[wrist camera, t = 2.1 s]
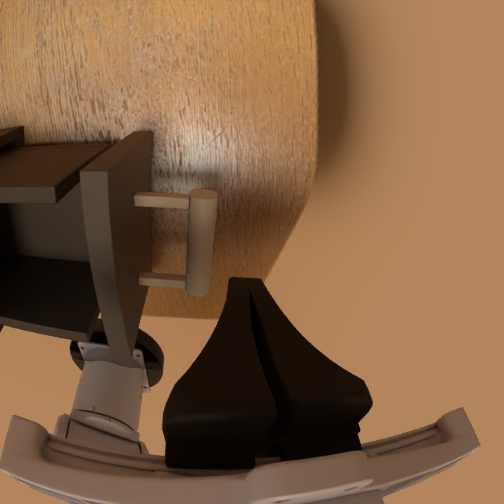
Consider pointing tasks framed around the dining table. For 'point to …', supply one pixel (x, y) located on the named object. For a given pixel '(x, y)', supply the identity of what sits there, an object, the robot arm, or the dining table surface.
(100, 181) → the open drawer with handle
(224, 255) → the dining table surface
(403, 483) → the robot arm
